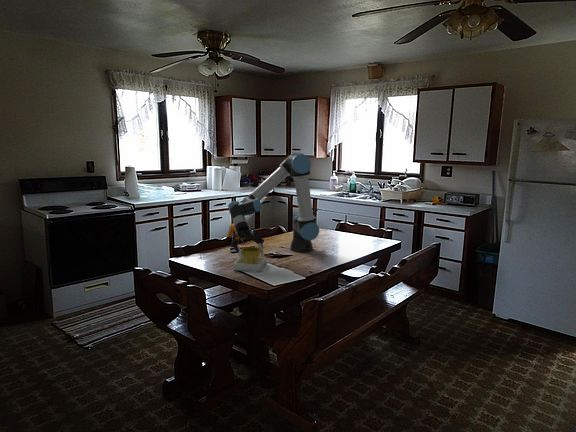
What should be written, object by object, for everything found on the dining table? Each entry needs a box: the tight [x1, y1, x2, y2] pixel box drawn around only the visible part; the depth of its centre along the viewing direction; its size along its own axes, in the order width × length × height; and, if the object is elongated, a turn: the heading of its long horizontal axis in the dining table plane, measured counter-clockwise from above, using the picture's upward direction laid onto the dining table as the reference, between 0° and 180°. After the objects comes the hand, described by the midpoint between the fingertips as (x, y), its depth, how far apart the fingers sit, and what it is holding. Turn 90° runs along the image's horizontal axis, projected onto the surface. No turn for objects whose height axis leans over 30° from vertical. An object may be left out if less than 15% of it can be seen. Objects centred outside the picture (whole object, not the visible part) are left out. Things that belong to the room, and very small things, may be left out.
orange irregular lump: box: [226, 223, 245, 242], centre depth 292 cm, size 11×7×12 cm, turn 130°
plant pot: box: [240, 246, 261, 265], centre depth 230 cm, size 10×10×10 cm
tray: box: [232, 256, 267, 273], centre depth 230 cm, size 16×16×4 cm
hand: (252, 255), depth 227 cm, fingers open, 13 cm apart
